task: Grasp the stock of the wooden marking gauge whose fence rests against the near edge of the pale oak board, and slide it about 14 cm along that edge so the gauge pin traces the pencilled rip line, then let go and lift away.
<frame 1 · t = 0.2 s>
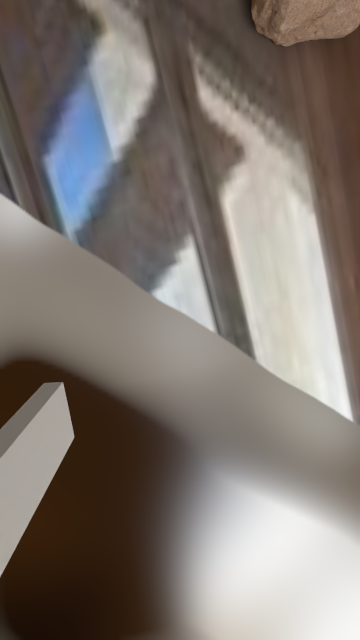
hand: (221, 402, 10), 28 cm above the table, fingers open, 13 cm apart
stone: (297, 1, 28), on the table
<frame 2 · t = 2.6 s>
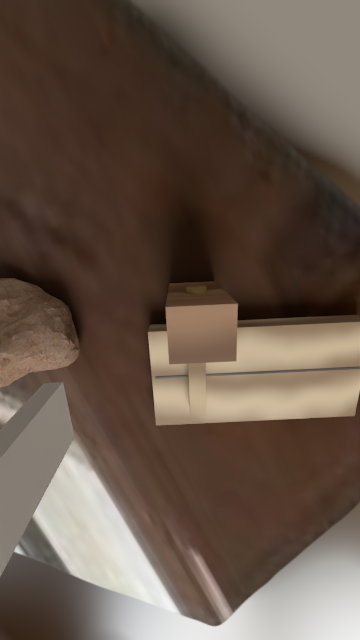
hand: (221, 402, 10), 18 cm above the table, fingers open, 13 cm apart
stone: (29, 321, 29), on the table
gauge: (197, 360, 24), point 5 cm above the table, slide at 0.0 cm
board: (251, 366, 30), on the table
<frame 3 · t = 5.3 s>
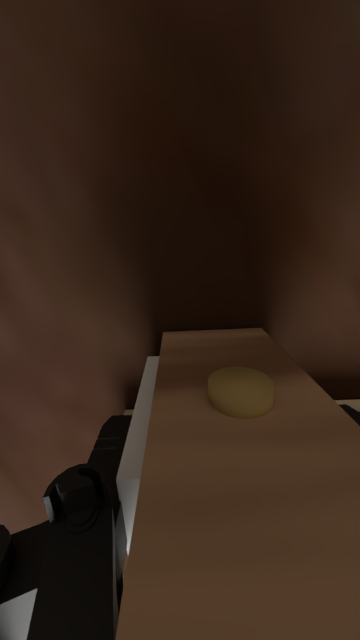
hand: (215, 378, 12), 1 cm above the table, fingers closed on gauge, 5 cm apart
gauge: (231, 540, 10), point 5 cm above the table, slide at 0.0 cm, touching gripper
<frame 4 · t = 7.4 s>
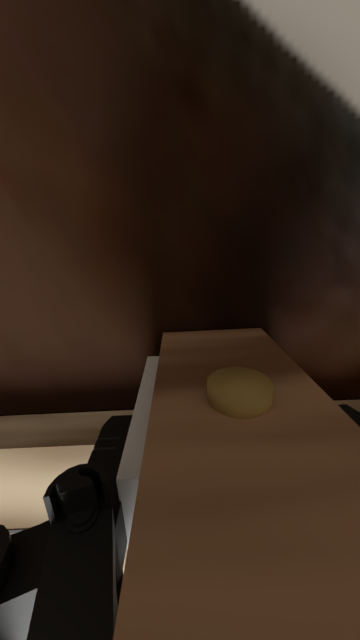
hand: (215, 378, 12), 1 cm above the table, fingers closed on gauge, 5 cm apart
gauge: (231, 541, 10), point 5 cm above the table, slide at 8.3 cm, touching gripper
board: (193, 486, 16), on the table
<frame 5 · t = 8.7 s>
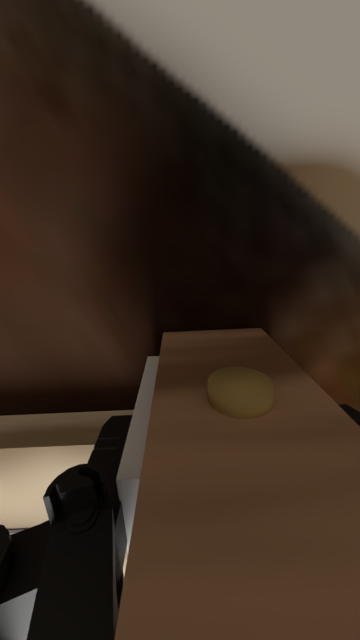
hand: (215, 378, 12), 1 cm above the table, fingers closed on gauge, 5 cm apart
gauge: (231, 541, 10), point 5 cm above the table, slide at 13.8 cm, touching gripper
board: (107, 490, 16), on the table
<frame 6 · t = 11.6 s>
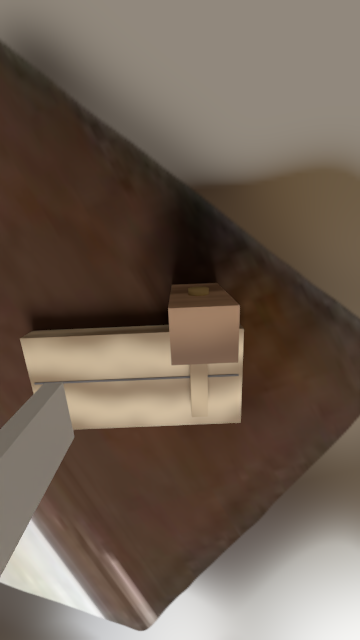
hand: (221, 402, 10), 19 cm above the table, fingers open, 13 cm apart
gauge: (199, 361, 24), point 5 cm above the table, slide at 14.0 cm
board: (140, 372, 31), on the table
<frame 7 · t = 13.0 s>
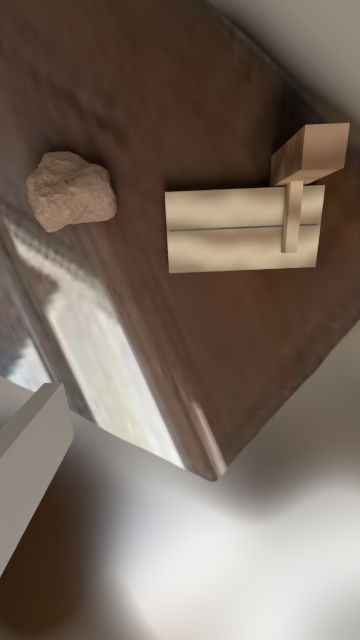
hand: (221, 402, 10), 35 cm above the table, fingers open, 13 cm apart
stone: (78, 193, 40), on the table
gauge: (299, 198, 35), point 5 cm above the table, slide at 14.0 cm
board: (239, 231, 41), on the table
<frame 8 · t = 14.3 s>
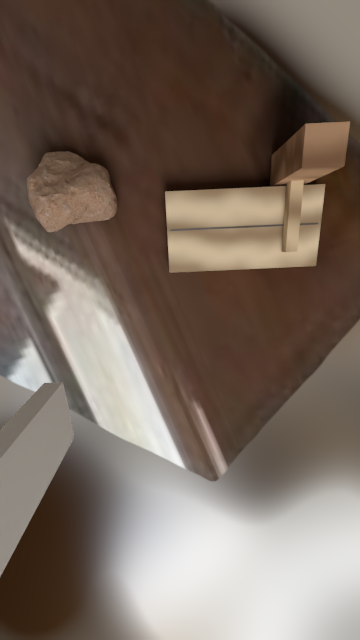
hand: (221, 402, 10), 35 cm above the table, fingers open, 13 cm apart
stone: (78, 193, 40), on the table
gauge: (299, 197, 35), point 5 cm above the table, slide at 14.0 cm
board: (239, 231, 41), on the table
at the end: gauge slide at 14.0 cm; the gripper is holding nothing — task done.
